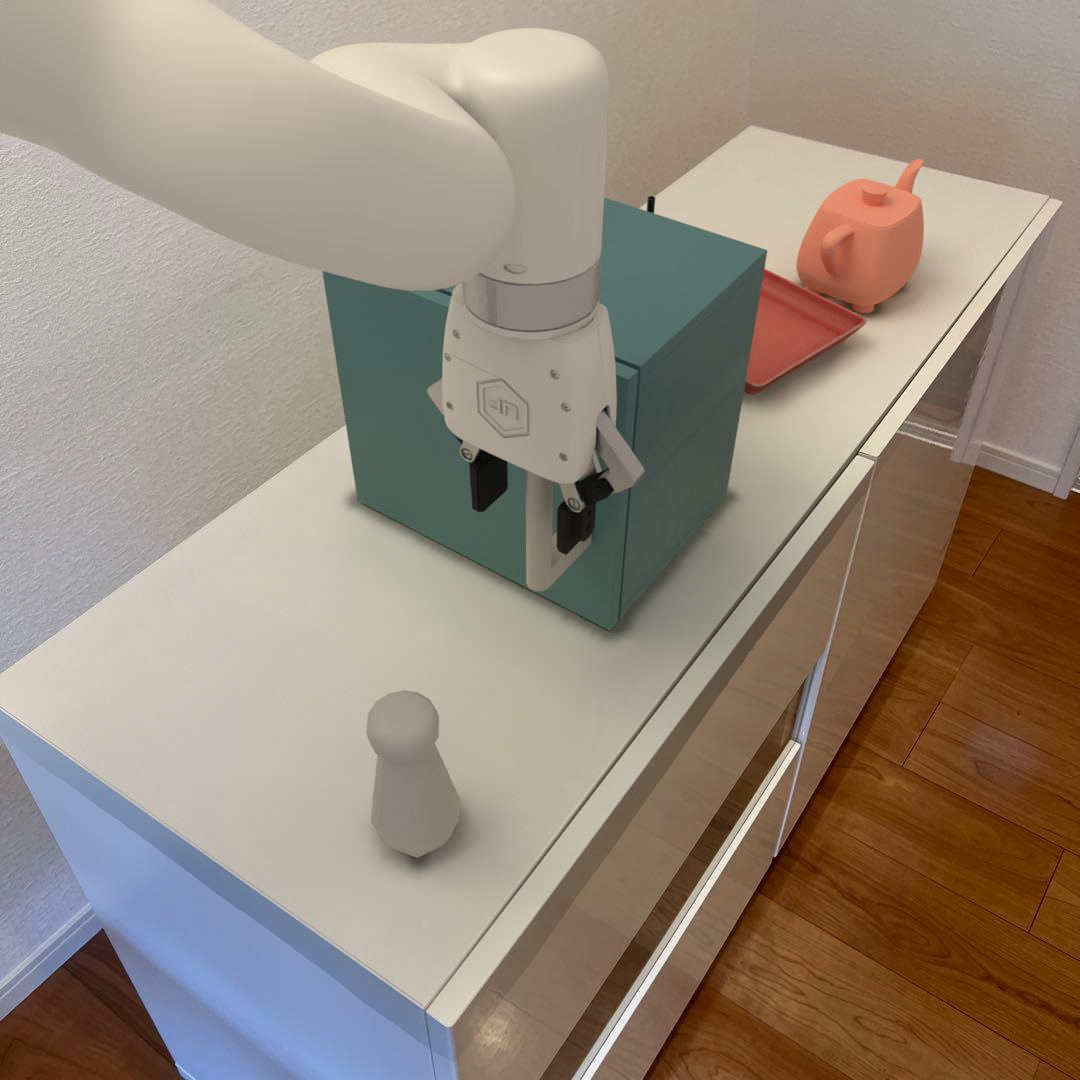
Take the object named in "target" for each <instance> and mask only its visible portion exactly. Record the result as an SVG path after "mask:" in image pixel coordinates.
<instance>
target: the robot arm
mask: <svg viewBox="0 0 1080 1080" xmlns="http://www.w3.org/2000/svg"><path fill="white" fill-rule="evenodd" d="M608 70H609V69H608V66H607V65H606V62H605V59H604V57H603V55H602V54H601V52H600V51H599V49H597V48H596V47H595V46H594V45H593V44H591V42H589V41H588V40H586V39H584V38H582V37H580V36H578V35H575V34H572V33H569V32H565V31H561V30H556V29H550V28H541V27H540V28H538V27H522V28H521V27H520V28H512V29H511V28H509V29H506V30H500V31H495V32H492V33H488V34H486V35H483V36H481V37H478V38H476V39H475V40H473V41H469V42H453V43H451V42H450V43H414V42H412V43H410V42H408V43H407V42H360V43H359V42H358V43H352V44H351V43H350V44H345V45H341V46H337V47H335V48H334V47H333V48H331V49H329V50H326V51H324V52H321V53H319V54H318V55H316V56H314V57H313V58H312V59H309V60H308V59H305V58H304V57H301V56H299V55H298V54H296V53H295V52H292V51H291V50H288V49H287V48H285V47H283V46H281V45H279V44H277V43H276V42H274V41H272V40H270V39H269V38H267V37H265V36H263V35H262V34H260V33H259V32H257V31H255V30H254V29H252V28H251V27H249V26H247V25H246V24H244V23H243V22H241V21H240V20H238V19H236V18H234V16H232V15H231V14H229V13H227V12H225V10H223V9H221V8H220V7H218V6H217V5H216V4H214V3H213V2H212V1H210V0H0V134H4V135H7V136H10V137H13V138H16V139H20V140H23V141H27V142H28V143H32V144H35V145H37V146H40V147H42V148H46V149H48V150H50V151H53V152H55V153H57V154H58V155H60V156H63V157H65V158H66V159H68V160H70V161H71V162H73V163H74V164H77V165H78V166H80V167H82V168H84V169H85V170H87V171H88V172H90V173H92V174H94V175H96V176H97V177H100V178H101V179H103V180H105V181H107V182H109V183H111V184H113V185H116V186H117V187H119V188H122V189H124V190H126V191H129V192H130V193H132V194H135V195H136V196H140V197H142V199H143V198H144V199H145V200H147V201H150V202H152V203H154V204H157V205H159V206H161V207H162V208H164V209H166V210H169V211H170V212H173V213H175V214H177V215H179V216H181V217H183V218H184V219H187V220H189V221H191V222H193V223H195V224H197V225H200V226H201V227H203V228H206V229H207V230H209V231H212V232H214V233H216V234H218V235H221V236H223V237H225V238H227V239H229V240H231V241H234V242H236V243H238V244H241V245H243V246H245V247H249V248H251V249H253V250H256V251H258V252H261V253H264V254H267V255H269V256H272V257H274V258H277V259H280V260H283V261H286V262H290V263H292V264H296V265H300V266H302V267H306V268H310V269H314V270H318V271H321V272H322V271H324V272H328V273H332V274H335V275H339V276H343V277H347V278H350V279H354V280H358V281H362V282H366V283H369V284H373V285H377V286H382V287H387V288H392V289H399V290H407V291H430V290H437V289H444V288H448V287H451V286H455V285H457V286H456V287H455V288H454V290H453V292H452V296H451V300H450V305H449V310H448V315H447V321H446V327H445V335H444V344H443V365H442V377H441V378H440V379H439V380H437V381H436V382H435V383H433V384H432V385H431V386H430V387H428V389H427V393H428V395H429V397H430V398H431V399H432V401H433V402H434V403H435V405H436V406H437V408H438V409H439V410H440V412H441V413H442V414H444V418H445V422H446V425H447V427H448V428H449V429H450V431H451V432H452V433H453V434H454V435H455V437H456V438H457V439H458V441H459V442H460V443H461V447H460V450H459V451H460V454H461V456H462V458H463V459H464V460H466V461H467V462H469V468H470V486H471V497H472V509H473V510H475V511H477V512H484V511H485V510H486V509H487V508H488V507H489V506H490V505H492V504H493V503H494V502H495V501H496V500H497V499H498V498H499V497H500V496H501V495H502V494H503V493H505V492H506V490H507V488H508V469H507V462H510V463H512V464H514V465H516V466H518V467H521V468H523V469H525V470H527V471H530V472H532V473H534V474H536V475H539V476H541V477H543V478H546V479H548V480H551V481H554V482H557V483H559V485H560V488H561V491H562V493H563V496H564V499H565V500H564V501H563V502H562V503H561V504H560V505H559V507H558V510H557V549H558V551H559V552H561V553H563V554H565V555H567V554H568V553H569V552H570V551H571V550H572V549H573V548H574V547H575V546H576V545H577V544H578V543H579V542H580V541H582V542H584V541H586V540H587V539H588V538H589V537H590V535H591V534H592V532H593V530H594V527H595V514H596V502H598V501H601V500H603V499H606V498H607V497H608V496H609V495H611V494H613V493H618V492H620V491H623V490H625V489H628V488H630V487H632V486H634V485H635V484H636V483H637V482H638V480H639V479H640V478H641V477H642V476H643V475H644V474H645V469H644V467H643V466H642V464H641V463H640V462H639V460H638V459H637V457H636V456H635V454H634V453H633V451H632V450H631V449H630V447H629V446H628V444H627V443H626V441H625V440H624V438H623V437H622V436H621V434H620V433H619V431H618V430H617V428H616V427H615V426H616V406H617V392H616V367H615V355H614V345H613V338H612V332H611V325H610V321H609V316H608V311H607V308H606V307H605V306H604V305H602V304H601V303H599V290H600V269H601V250H602V230H603V209H604V198H605V190H606V189H605V187H606V169H607V168H606V167H607V166H606V164H607V148H608V147H607V145H608V127H609V126H608V125H609V124H608V123H609V106H610V77H609V72H608ZM595 449H596V451H597V452H598V453H599V455H600V456H601V458H602V459H603V460H604V462H605V463H606V465H607V466H608V469H606V470H603V471H602V469H601V466H600V463H599V460H598V457H597V454H596V451H595ZM582 476H583V478H584V479H583V480H581V481H580V482H579V479H580V478H581V477H582Z"/></svg>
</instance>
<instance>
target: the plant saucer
mask: <svg viewBox="0 0 1080 1080" xmlns="http://www.w3.org/2000/svg"><path fill="white" fill-rule="evenodd" d="M866 324H867V318H866V317H864V316H862V315H860V314H859V313H857V312H854V311H852V310H851V309H849V308H846V307H844V306H842V305H840V304H838V303H836V302H834V301H833V300H831V299H827V297H826V298H825V297H824V296H822V295H821V294H816V293H813V292H811V291H809V290H807V289H806V288H805V286H801V285H799V284H798V283H796V282H793V281H791V280H789V279H787V278H785V277H783V276H781V275H778V274H777V273H775V272H772V271H770V270H768V269H767V268H765V269H764V275H763V281H762V287H761V293H760V299H759V305H758V311H757V317H756V323H755V329H754V335H753V341H752V346H751V352H750V358H749V364H748V370H747V376H746V382H745V388H744V394H747V395H748V396H749V395H750V396H753V395H757V394H759V393H760V392H762V391H763V390H765V389H767V388H769V387H771V386H772V385H774V384H775V383H777V382H779V381H780V380H782V379H784V378H785V377H787V376H789V375H790V374H792V373H793V372H795V371H797V370H798V369H800V368H802V367H803V366H805V365H807V364H808V363H810V362H812V361H813V360H815V359H817V358H818V357H820V356H821V355H823V354H825V353H826V352H828V351H829V350H831V349H833V348H835V347H836V346H838V345H839V344H841V343H843V342H844V341H845V340H847V339H848V338H850V337H852V335H854V334H855V333H857V332H858V331H859V330H861V328H863V327H864V326H865V325H866Z"/></svg>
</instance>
